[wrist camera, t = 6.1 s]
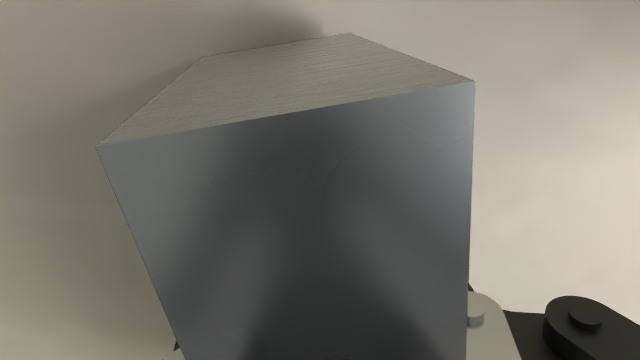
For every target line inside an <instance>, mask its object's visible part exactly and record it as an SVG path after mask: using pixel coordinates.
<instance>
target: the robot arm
mask: <svg viewBox="0 0 640 360" xmlns="http://www.w3.org/2000/svg"><path fill="white" fill-rule="evenodd" d="M163 360H185V359H184V356H183V354H182V352H181V349H180V347H179V344H178V342H177V340H176V344H175V348H174V351H173V352H172V353H170V354H169V355H167V356H166V357H165V358H164V359H163ZM466 360H640V325H638V324H636V323H634V322H633V321H631V320H629V319H628V318H626V317H624V316H622V315H621V314H619V313H617V312H615V311H614V310H612V309H610V308H609V307H607V306H605V305H603V304H601V303H599V302H597V301H594V300H591V299H588V298H584V297H579V296H562V297H558V298H555V299H553V300H552V301H550V302H549V303H548V305H547V307H546V310H545V314H540V313H522V312H511V311H506V310H502V308H501V307H500V306H499V305H498V304H497V303H496V302H495V301H494V300H492V299H491V298H489V297H487V296H485V295H483V294H480V293H477V292H474V290H473V289H472V287H471V286H470V285H469V283H468V312H467V342H466Z"/></svg>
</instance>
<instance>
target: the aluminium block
mask: <svg viewBox="0 0 640 360" xmlns="http://www.w3.org/2000/svg"><path fill="white" fill-rule="evenodd" d="M474 99H475V81H474V80H471V79H469V78H466V77H463V76H461V75H458V74H456V73H453V72H450V71H448V70H445V69H443V68H440V67H437V66H435V65H432V64H430V63H427V62H424V61H422V60H419V59H416V58H414V57H411V56H409V55H406V54H403V53H401V52H398V51H396V50H393V49H390V48H388V47H385V46H383V45H380V44H377V43H375V42H372V41H369V40H367V39H364V38H362V37H359V36H356V35H354V34H351V33H346V34H340V35H334V36H328V37H321V38H315V39H309V40H303V41H297V42H291V43H285V44H278V45H272V46H266V47H260V48H254V49H248V50H242V51H236V52H229V53H223V54H217V55H211V56H205V57H201V58H200V59H199V60H198V61H196V62H195V63H194V64H193V65H192V66H190V67H189V68H188V69H187V70H186V71H184V72H183V73H182V74H181V75H180V76H178V77H177V78H176V79H175V80H174V81H172V82H171V83H170V84H169V85H168V86H167V87H165V88H164V89H163V90H162V91H161V92H159V93H158V94H157V95H156V96H155V97H153V98H152V99H151V100H150V101H149V102H147V103H146V104H145V105H144V106H143V107H142V108H140V109H139V110H138V111H137V112H136V113H134V114H133V115H132V116H131V117H130V118H128V119H127V120H126V121H125V122H124V123H122V124H121V125H120V126H119V127H118V128H117V129H115V130H114V131H113V132H112V133H111V134H109V135H108V136H107V137H106V138H105V139H103V140H102V141H101V142H100V143H99V144H97V145H96V146H95V147H96V150H97V152H98V154H99V157H100V159H101V161H102V164H103V166H104V169H105V171H106V173H107V176H108V178H109V180H110V183H111V185H112V188H113V190H114V192H115V195H116V197H117V199H118V202H119V204H120V207H121V209H122V211H123V214H124V216H125V218H126V221H127V223H128V226H129V228H130V230H131V233H132V235H133V237H134V240H135V242H136V245H137V247H138V249H139V252H140V254H141V256H142V259H143V261H144V264H145V266H146V268H147V271H148V273H149V276H150V278H151V280H152V283H153V285H154V287H155V290H156V292H157V295H158V297H159V299H160V302H161V304H162V306H163V309H164V311H165V314H166V316H167V318H168V321H169V323H170V325H171V328H172V330H173V333H174V335H175V337H176V340H177V342H178V344H179V347H180V349H181V352H182V354H183V356H184V359H185V360H466V342H467V312H468V281H469V251H470V221H471V190H472V160H473V129H474Z"/></svg>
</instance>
